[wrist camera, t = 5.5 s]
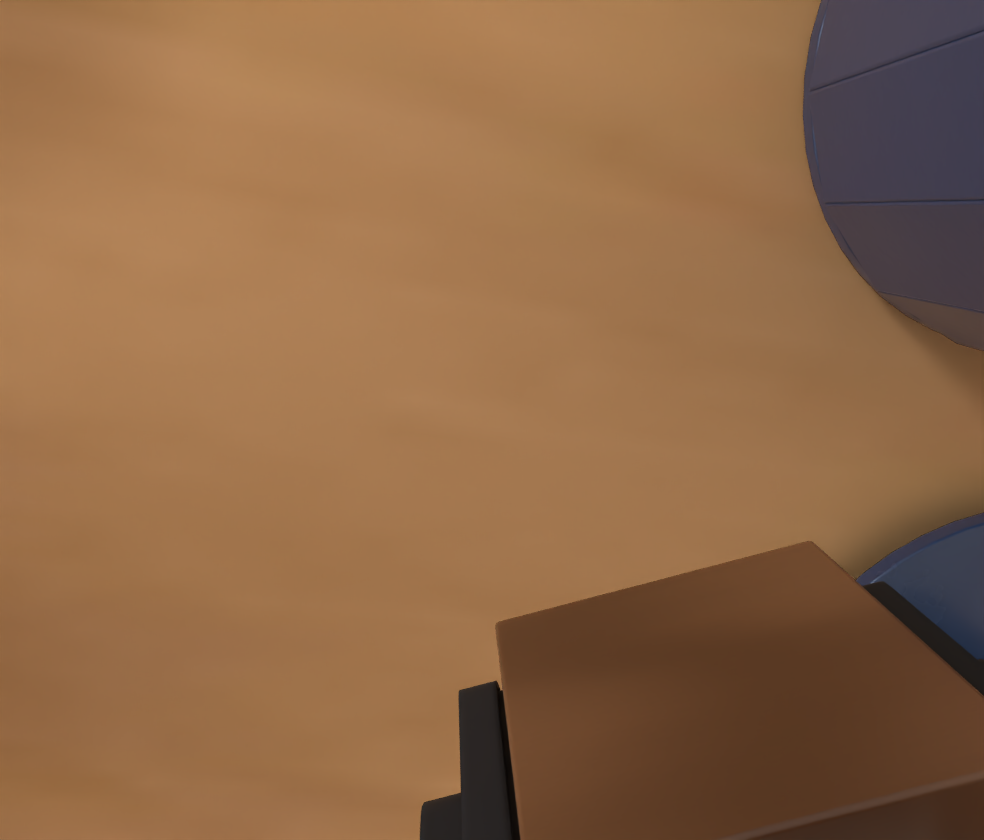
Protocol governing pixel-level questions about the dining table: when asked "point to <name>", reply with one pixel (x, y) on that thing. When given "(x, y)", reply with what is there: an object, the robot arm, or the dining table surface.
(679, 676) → the block
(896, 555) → the pot lid
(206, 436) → the dining table surface
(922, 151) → the pot
